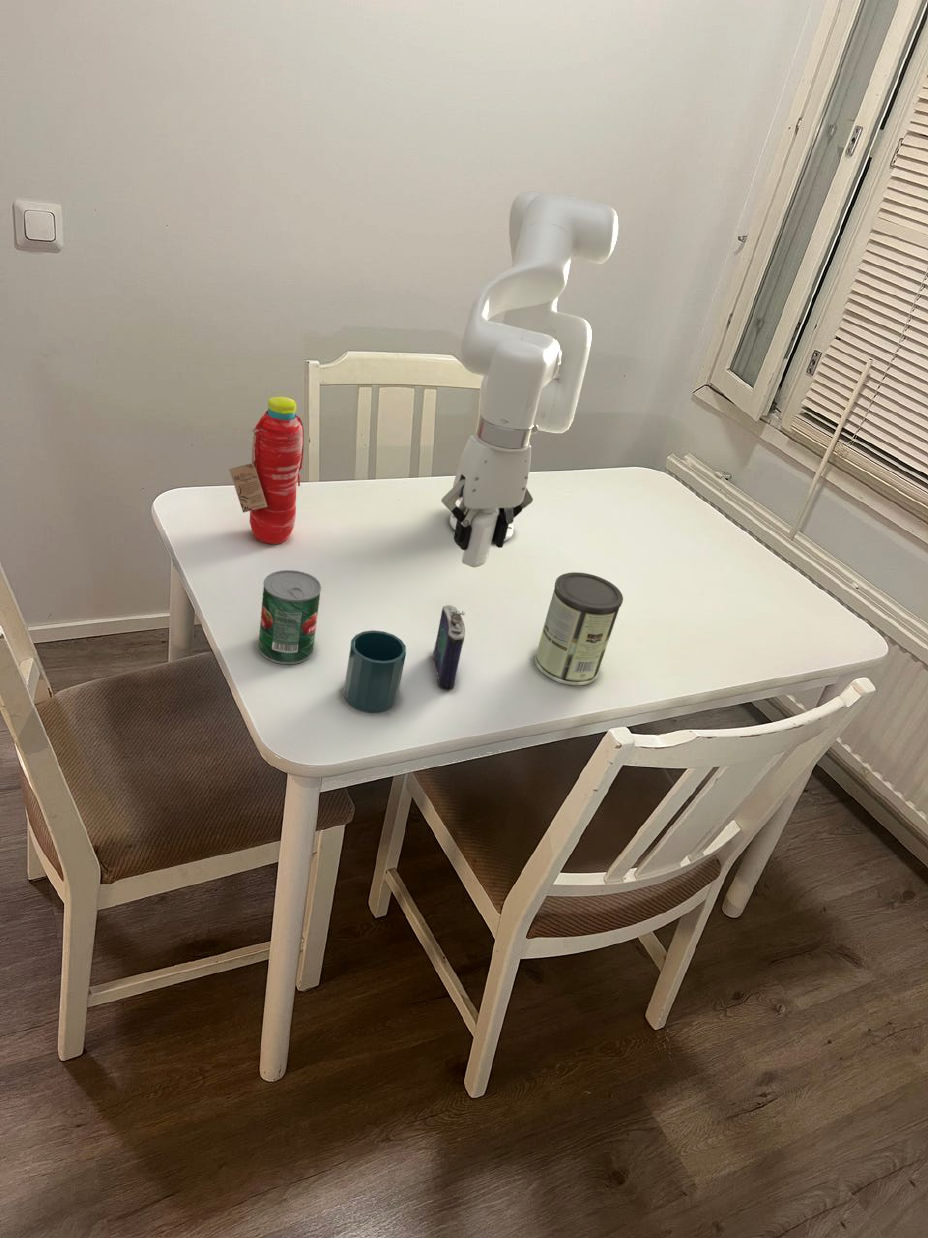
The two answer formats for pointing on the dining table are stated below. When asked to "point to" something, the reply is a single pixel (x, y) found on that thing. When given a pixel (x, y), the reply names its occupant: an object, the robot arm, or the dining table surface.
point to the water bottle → (272, 472)
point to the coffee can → (577, 628)
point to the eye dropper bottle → (480, 537)
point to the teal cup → (374, 671)
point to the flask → (448, 646)
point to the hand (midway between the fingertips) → (478, 543)
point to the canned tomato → (289, 616)
